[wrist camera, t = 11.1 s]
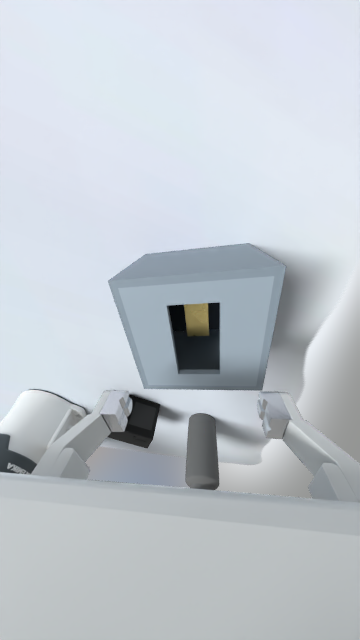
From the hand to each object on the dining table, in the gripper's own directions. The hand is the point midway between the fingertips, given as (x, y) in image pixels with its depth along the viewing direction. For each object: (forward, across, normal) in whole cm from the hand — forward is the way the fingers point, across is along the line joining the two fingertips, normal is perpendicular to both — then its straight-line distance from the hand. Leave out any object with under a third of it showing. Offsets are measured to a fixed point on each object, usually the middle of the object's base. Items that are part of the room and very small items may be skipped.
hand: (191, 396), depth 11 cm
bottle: (+16, 0, -29) cm, 33 cm away
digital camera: (+16, -14, -23) cm, 31 cm away
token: (+15, 0, +1) cm, 15 cm away
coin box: (+15, 0, +1) cm, 15 cm away
